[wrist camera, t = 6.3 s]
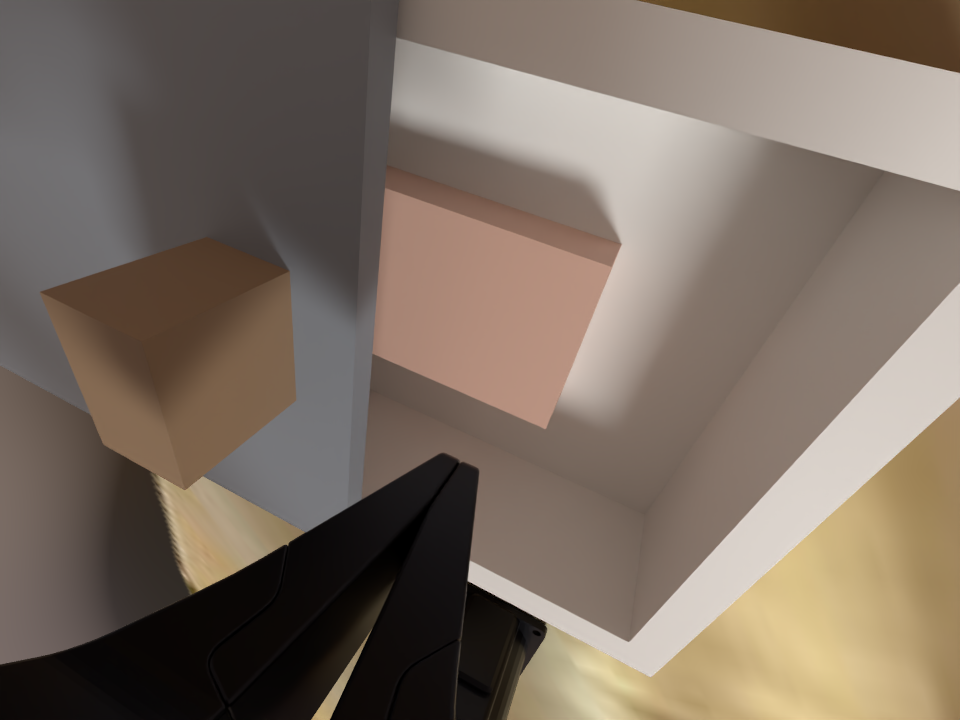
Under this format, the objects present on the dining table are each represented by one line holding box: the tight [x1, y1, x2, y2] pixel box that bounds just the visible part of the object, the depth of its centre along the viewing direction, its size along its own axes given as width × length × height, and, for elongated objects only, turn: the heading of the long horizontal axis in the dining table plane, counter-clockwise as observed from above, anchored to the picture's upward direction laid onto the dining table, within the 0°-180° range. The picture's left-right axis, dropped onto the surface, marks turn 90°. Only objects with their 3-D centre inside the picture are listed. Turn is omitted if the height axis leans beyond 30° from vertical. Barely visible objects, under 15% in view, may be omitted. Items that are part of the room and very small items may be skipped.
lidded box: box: [361, 0, 960, 677], centre depth 14 cm, size 16×18×6 cm
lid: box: [0, 0, 399, 532], centre depth 12 cm, size 17×18×4 cm
